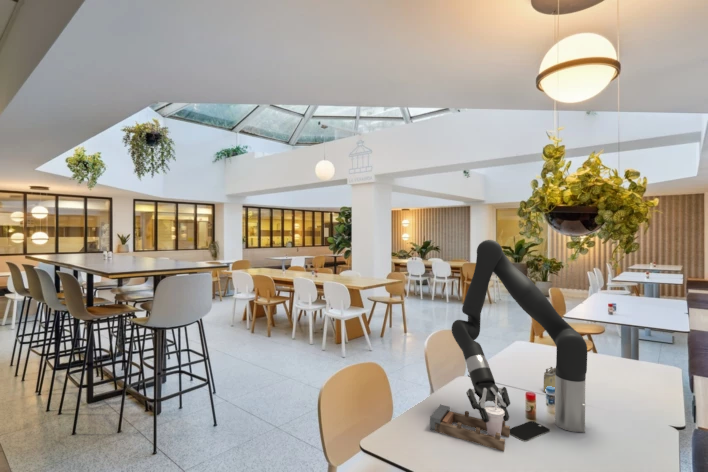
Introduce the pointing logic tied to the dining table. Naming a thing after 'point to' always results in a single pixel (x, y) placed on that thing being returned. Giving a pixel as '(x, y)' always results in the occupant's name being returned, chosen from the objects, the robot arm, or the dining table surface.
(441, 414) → the block
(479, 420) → the brown pegged rack
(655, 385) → the dining table surface
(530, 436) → the smartphone
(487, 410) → the smoothie
